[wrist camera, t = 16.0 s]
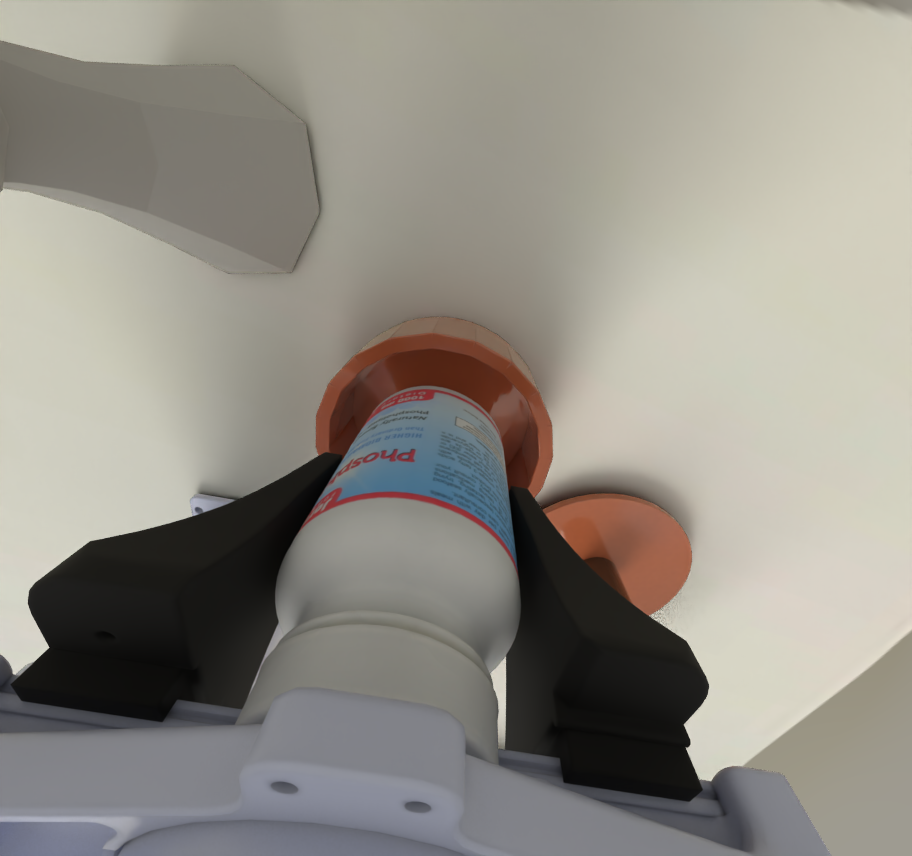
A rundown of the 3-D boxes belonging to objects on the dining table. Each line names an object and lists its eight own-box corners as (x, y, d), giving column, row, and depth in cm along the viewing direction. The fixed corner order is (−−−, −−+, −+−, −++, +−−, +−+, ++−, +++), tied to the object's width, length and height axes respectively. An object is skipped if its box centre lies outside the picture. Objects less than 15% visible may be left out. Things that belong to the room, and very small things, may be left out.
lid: (638, 627, 26) (670, 701, 22) (485, 601, 25) (487, 672, 21) (717, 505, 21) (778, 570, 17) (527, 470, 20) (541, 528, 16)
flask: (335, 105, 14) (64, -169, 5) (311, 299, 17) (123, 358, 8) (136, 29, 13) (-636, -466, 4) (150, 246, 16) (-259, 244, 7)
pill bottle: (411, 352, 14) (258, 603, 4) (530, 434, 16) (630, 773, 6) (341, 457, 17) (135, 780, 7) (449, 521, 18) (417, 868, 8)
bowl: (510, 507, 22) (517, 557, 18) (341, 477, 21) (314, 522, 18) (564, 339, 17) (587, 363, 14) (349, 296, 17) (316, 309, 13)
